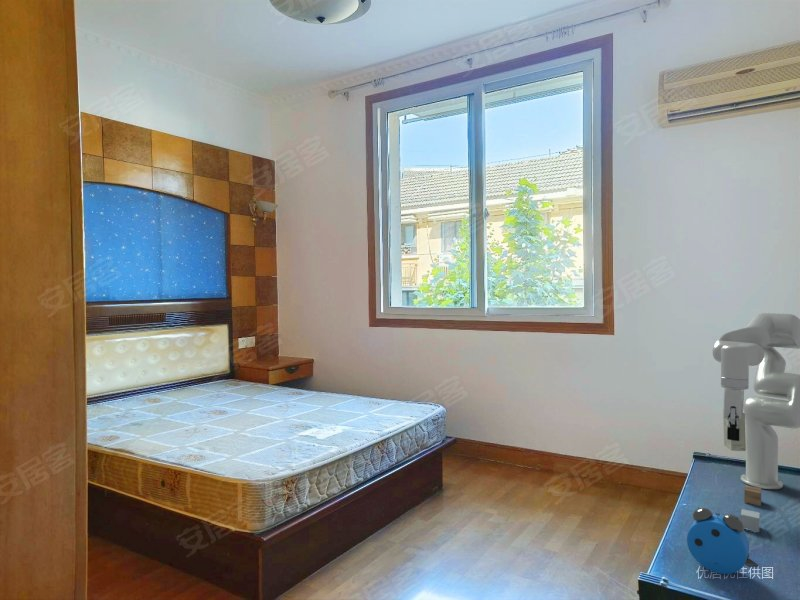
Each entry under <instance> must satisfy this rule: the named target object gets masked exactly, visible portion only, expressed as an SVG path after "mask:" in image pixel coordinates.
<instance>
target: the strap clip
mask: <svg viewBox="0 0 800 600" xmlns="http://www.w3.org/2000/svg"><path fill="white" fill-rule="evenodd" d="M749 557H750V553H748V556H747V559H746V562H745V564H744V566H747V568H748V567H749V568H752V567H753V568H758V565H759V564H757V563H756V562H755V561H753V560H752V559H751V558H749Z"/></svg>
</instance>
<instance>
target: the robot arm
mask: <svg viewBox="0 0 800 600" xmlns="http://www.w3.org/2000/svg"><path fill="white" fill-rule="evenodd" d="M776 348H784V349H795V350H797V349H798V350H799V349H800V318H799V317H798V316H797V315H795V314H792V313H772V312H771V313H769V312H768V313H767V312H765V313H764V312H763V313H758V314H757V315H754V316H753V318H752V319H751V320H750V321H749V322H748V324H747V325H746V326H745V327H741V328H738V329H736V330H731V331H729V332H725V333H724V334H722V335H721V336H719V338H718V339H717V340H716V341H715V342H714V344H713V348H712V356H713V359H714V360H715V361H717V362H718V363H720V387H721V388H724V391H723V409H724V412H723V411H722V418H723V417H724V418H727V417H728V427H727V439H728V440H734V441H739V428H738V426H739V420H741V418H742V413H745V441H746V451H745V473H744V474H743V473H742V475H740V480H741V481H742V482H743V483H744V484H746V485H747V486H751V487H756V488H761V489H764V490H765V489H766V490H780V489H782V488H783V487H784V483H783V481H781V480H779V478H778V477H779V475H778V474H779V472H778V471H779V437H778V434H777V432H776V431H775V429H774V428H773V426H775V427H779V428H785V429H791V430H792V429H793V430H796V429H799V428H800V374H799V373H792V372H785V371H786V364H787V362H786V360H785V358H784V357H783V356H782V354H781V353H780V352H779V351H778V350H777V349H776ZM752 366H753V367H754V366H756V370H755V374H754V379H753V391H754V392H755V393H756V394H758V395H760V396H750V397H747V398H746V399H745V391H746V390H749V387H750V386H749V383H750V382H749V380H750V379H749V376H750V374H749V373H750V372H749V371H750V369H749V368H750V367H752ZM730 413H731V416H730ZM735 417H737V418H735ZM736 421H737V422H736Z"/></svg>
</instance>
